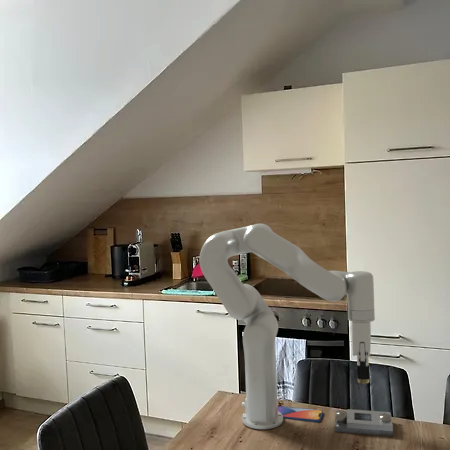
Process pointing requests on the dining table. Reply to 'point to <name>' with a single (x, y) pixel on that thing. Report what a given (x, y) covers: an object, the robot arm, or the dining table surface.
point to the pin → (362, 379)
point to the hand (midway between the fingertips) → (363, 376)
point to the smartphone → (301, 414)
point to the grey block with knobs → (364, 422)
